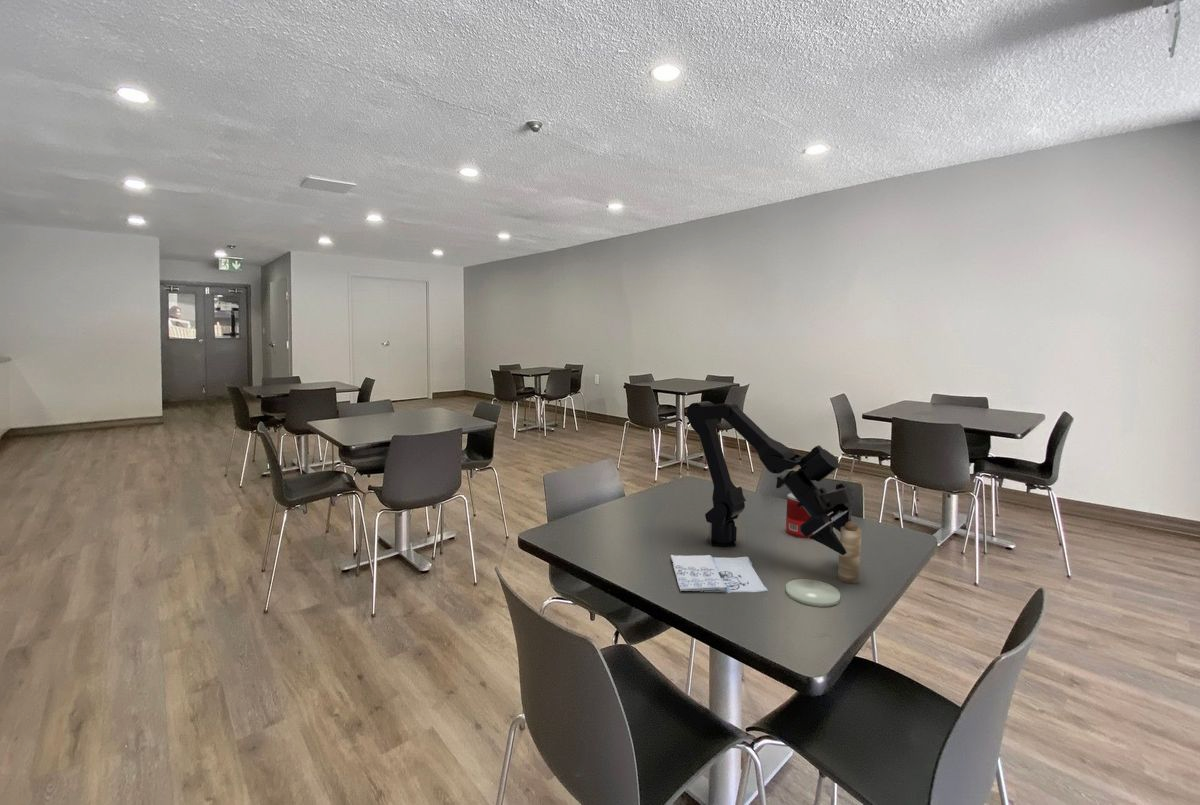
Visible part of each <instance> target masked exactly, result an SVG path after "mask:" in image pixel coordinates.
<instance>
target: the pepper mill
mask: <svg viewBox="0 0 1200 805" xmlns="http://www.w3.org/2000/svg"><path fill="white" fill-rule="evenodd" d="M862 532H863V530H862V529H861V528H858V524H857V523H856V522H855V521H853V520H851V521H848V522H847V523H846V524H845V526H843V527H841V530H840V532H839V534H840V535H839V541H840V542H841V544H842V545H843V547H844V548H845V550H846V552H847V553H846V554H844V555H841V554H840V553H838V564H837V565H838V567H837V571H838V572H837V580H838V581H840V582H843V583H846V584H858V583H859V581H860V568H861V566H860V564H861V550H862V547H861V546H862V535H863V534H862Z"/></svg>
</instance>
